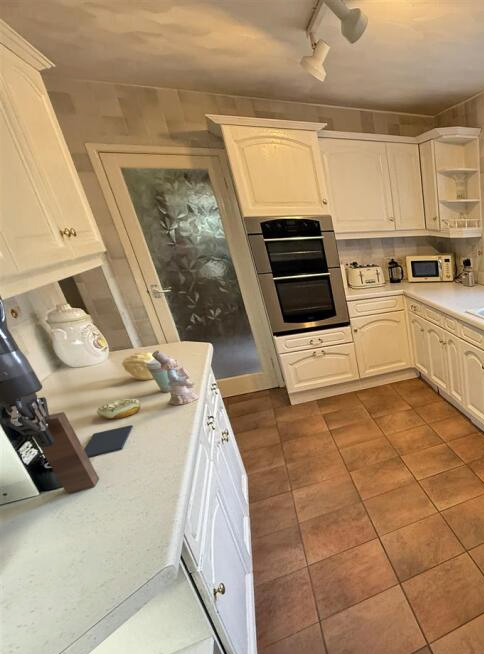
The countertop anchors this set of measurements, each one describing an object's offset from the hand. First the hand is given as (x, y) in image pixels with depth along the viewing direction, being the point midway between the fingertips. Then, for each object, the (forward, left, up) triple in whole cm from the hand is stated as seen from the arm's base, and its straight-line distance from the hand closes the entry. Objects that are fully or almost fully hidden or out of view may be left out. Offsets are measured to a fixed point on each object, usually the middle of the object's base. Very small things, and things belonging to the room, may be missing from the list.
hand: (47, 445), depth 88 cm
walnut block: (+3, +4, -14) cm, 15 cm away
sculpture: (+56, +70, -15) cm, 90 cm away
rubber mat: (+18, +24, -14) cm, 33 cm away
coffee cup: (+50, +47, -15) cm, 70 cm away
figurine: (+44, +31, -15) cm, 56 cm away
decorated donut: (+31, +42, -15) cm, 54 cm away
